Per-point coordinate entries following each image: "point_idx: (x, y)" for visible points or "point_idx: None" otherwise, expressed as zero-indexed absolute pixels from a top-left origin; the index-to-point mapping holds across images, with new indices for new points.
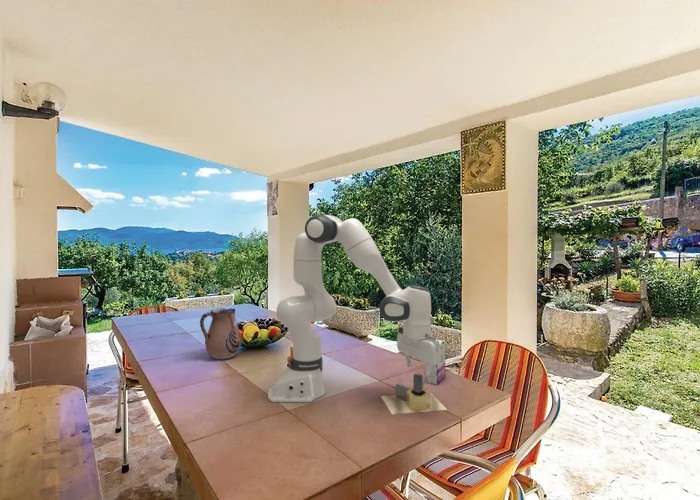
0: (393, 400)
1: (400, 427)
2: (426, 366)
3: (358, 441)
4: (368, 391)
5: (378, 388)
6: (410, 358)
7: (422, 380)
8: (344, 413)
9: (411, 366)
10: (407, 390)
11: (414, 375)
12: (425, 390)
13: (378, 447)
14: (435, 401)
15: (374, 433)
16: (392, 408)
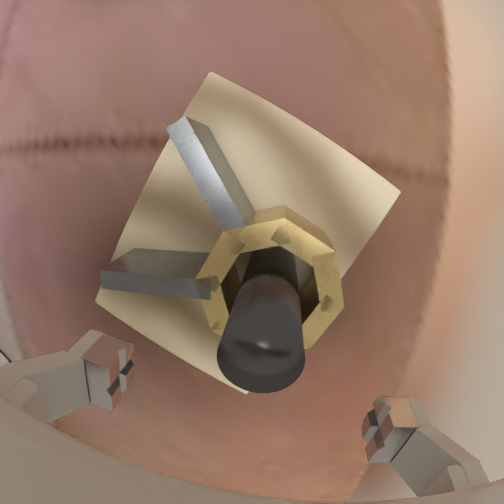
0: (153, 299)
1: (311, 404)
2: (415, 493)
3: (273, 486)
4: (30, 263)
5: (25, 211)
6: (55, 371)
7: (300, 324)
8: (131, 428)
9: (132, 353)
10: (207, 319)
11: (241, 382)
12: (287, 237)
13: (325, 478)
14: (302, 146)
15: (275, 457)
16: (210, 360)
